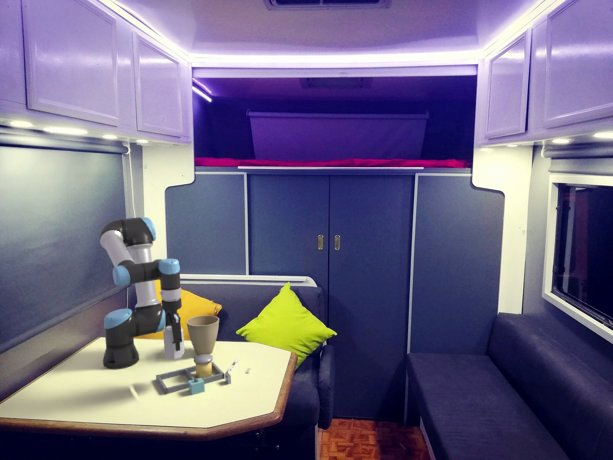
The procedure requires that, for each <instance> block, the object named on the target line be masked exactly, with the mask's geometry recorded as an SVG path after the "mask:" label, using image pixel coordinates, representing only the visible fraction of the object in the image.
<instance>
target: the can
mask: <svg viewBox="0 0 613 460" xmlns="http://www.w3.org/2000/svg"><path fill="white" fill-rule="evenodd" d="M162 334H163V347H164V348H163V350H164V356H165V357H166V358H168V359H170V360H171V359H172V360H175V359H174V349H173V344H172V342H174V339H173V333H172V327H171V326H167V327H165V329H164V330H163V333H162ZM181 334H182V342H181V357H183V355H184V354H185V339H184V329H183V327H181Z"/></svg>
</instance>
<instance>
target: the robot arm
mask: <svg viewBox="0 0 613 460" xmlns="http://www.w3.org/2000/svg"><path fill="white" fill-rule="evenodd" d="M156 235H157V233H156V228H155V225H154V223H153V221H152V219H151V218H149V217H143V216H140V217H129V218H120V219H119V218H118V219H114V220H113V219H112V220H110V221H108V222H107V223H106V224H105V225H103V227H102V228H101V229H100V231H99V233H98V241H99V244H100V246H101V247H102V248H103V249H104V250H105V251H106V252H107V254H108V256H109V259H110V261H111V262H112V265H113V266H114V267H113V268H112V278H113V283H114V284H115V285H116V286H127V285H133V284H134V286H135V292H136V300H137V301H136V304H135V306H134V311H133V310H132V309H130V308H126V307H124V308H119V309H116V310H113V311H110V312H109V313H108V314H106V315H105V316H104V319H103V328H104V337H105V340H104V341H105V351H104V355H103V359H102V364H103V367H104V368H106V369H110V370H111V369H112V370H118V369H119V370H121V369H124V368H129V367H131V366H134V365H136V364H137V363H138V362H139V361H140V354H139V351H138V350H137V347H136V345H135V339H134V338H137V337H142V336H145V335H151V334H157V333H159V332H162V331H163V332H164V330H165V327H167V326H171V327H172V333H173V339H174V342H172V344H173V349H174V359H173V360H176V359H177V360H178V359H181V358H182V356H181V342H182V334H181V328H182V324H181V316H180V314H179V312H178V310H180V309H181V308H182V307H183V305H182V303H183V302H182V286H181V267H180V261H179V260H178V259H176V258H164V259H162V258H156V259H154V260H152V253H151V248H152V247H153V246H154V242H155V241H156V239H157V236H156ZM129 251H130V252H129ZM155 281H159V282H160V284H159V285H160V291H159V295H160V297H161V301H160V300H158V296H157V295H158V294H157V290H156V289H157V288H156V283H155Z"/></svg>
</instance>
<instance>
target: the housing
mask: <svg viewBox="0 0 613 460" xmlns="http://www.w3.org/2000/svg"><path fill="white" fill-rule="evenodd" d="M211 363H212V371H214V372H215V373H216V374H214V375H212V376H210V377H206V378H202V380H203V381H204V385H206V384H210V383H214V382H217V381H221V380H225V373H224V372H223V370H221V369H220V368H219V367H218V365H217V364H216V363H215V362H214V361H211ZM192 373H196V365H193V366H189V367H185V368H180V369H177V370H173V371H169V372H165V373H161V374H157V375H155V378H156V382H157V384H158V385H159V387H160V388H161V389H162V391H163V394H165V395H168V394H173V393H176V392H180V391H184V390H187V389H188V390H189V384H188V381H190V380H194V378H195V377H194V376H193V374H192ZM183 375H185V376H186V377H187V379H188V381H187V382H184V383H183V382H182V383H180V384H176V385H172V386H168V387H167V386H166V384H165V383H164V381H163V380H167V379H171V378H175V377H179V376H183Z"/></svg>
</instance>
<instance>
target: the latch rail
mask: <svg viewBox="0 0 613 460" xmlns="http://www.w3.org/2000/svg"><path fill="white" fill-rule="evenodd" d="M224 374H225V379H224V380H225V381H224V382H225V383H226V384H227V385H232V375H230V374H228V372H226V373H224Z"/></svg>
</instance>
